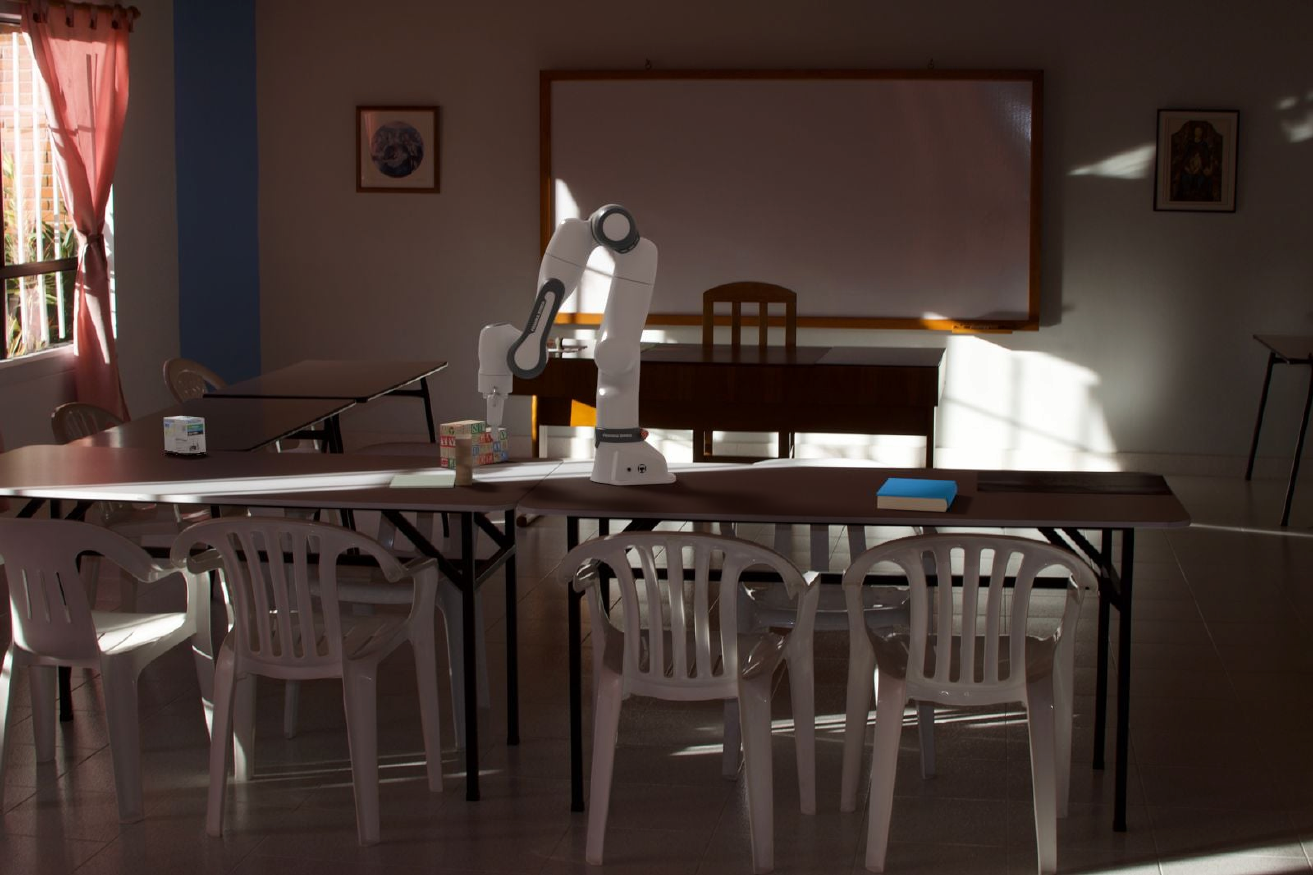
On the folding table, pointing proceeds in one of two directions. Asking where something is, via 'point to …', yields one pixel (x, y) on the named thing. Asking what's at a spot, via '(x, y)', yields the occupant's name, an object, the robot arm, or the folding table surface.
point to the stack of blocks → (473, 443)
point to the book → (916, 494)
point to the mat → (423, 481)
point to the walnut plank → (463, 459)
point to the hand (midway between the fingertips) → (494, 438)
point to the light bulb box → (184, 434)
